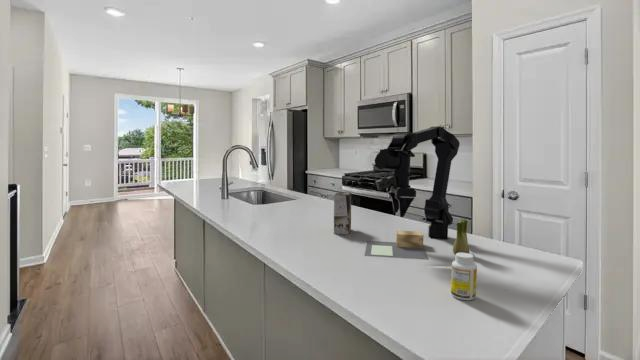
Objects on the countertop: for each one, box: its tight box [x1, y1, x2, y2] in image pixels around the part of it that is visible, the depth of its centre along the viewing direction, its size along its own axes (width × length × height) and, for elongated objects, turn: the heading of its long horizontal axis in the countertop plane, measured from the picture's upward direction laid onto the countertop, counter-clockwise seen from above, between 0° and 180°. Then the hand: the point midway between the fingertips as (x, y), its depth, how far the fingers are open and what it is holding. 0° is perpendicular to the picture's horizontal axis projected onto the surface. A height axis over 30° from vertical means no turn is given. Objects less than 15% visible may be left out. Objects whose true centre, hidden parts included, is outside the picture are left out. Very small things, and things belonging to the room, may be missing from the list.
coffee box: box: [333, 191, 352, 235], centre depth 147 cm, size 9×6×16 cm
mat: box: [363, 240, 429, 260], centre depth 121 cm, size 20×18×1 cm
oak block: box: [395, 229, 424, 248], centre depth 125 cm, size 9×6×4 cm, turn 80°
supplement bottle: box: [450, 252, 478, 301], centre depth 84 cm, size 6×6×10 cm
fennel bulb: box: [452, 219, 470, 256], centre depth 115 cm, size 6×5×12 cm
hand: (398, 214), depth 122 cm, fingers open, 9 cm apart
